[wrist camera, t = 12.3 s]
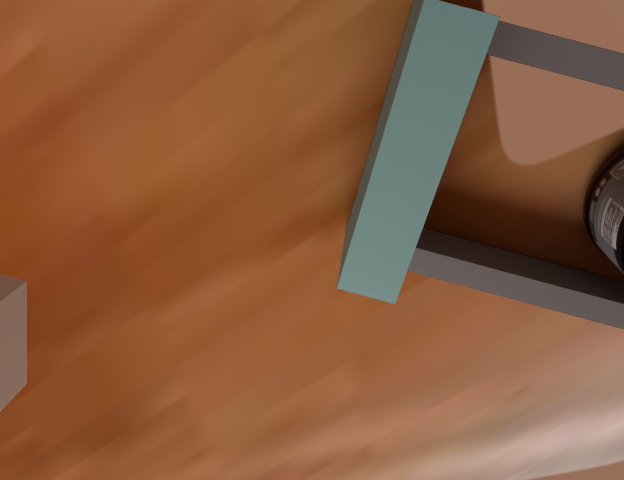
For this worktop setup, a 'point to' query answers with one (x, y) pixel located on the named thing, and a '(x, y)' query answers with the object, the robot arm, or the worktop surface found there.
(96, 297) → the worktop surface
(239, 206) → the worktop surface
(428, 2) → the gray open tray
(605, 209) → the supplement container
